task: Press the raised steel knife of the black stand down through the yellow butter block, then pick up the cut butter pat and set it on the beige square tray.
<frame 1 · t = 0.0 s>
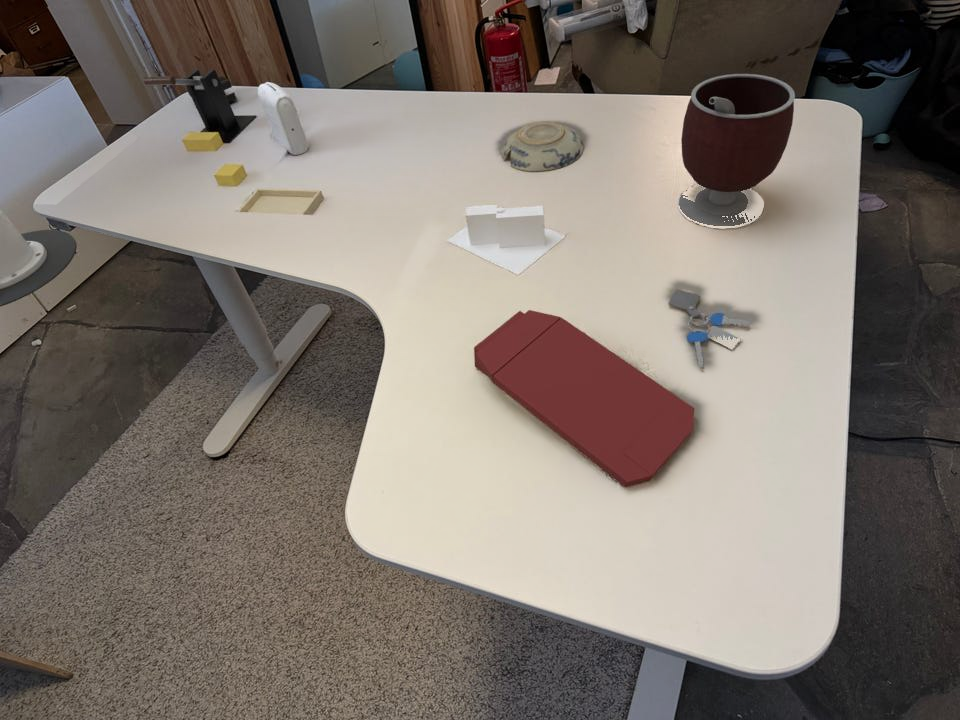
butter pat: (235, 184, 115), on the table
mate gourd: (717, 209, 92), on the table
end cap: (218, 107, 143), on the table
knife: (183, 82, 119), point 13 cm above the table, hinge at 25.0°
black stand: (225, 133, 132), on the table
butter: (207, 151, 127), on the table
key chain: (711, 326, 75), on the table
decorative bowl: (542, 151, 110), on the table
napkin holder: (505, 239, 93), on the table
beige square tray: (275, 217, 106), on the table
photo printer: (293, 146, 124), on the table
carton: (576, 399, 70), on the table
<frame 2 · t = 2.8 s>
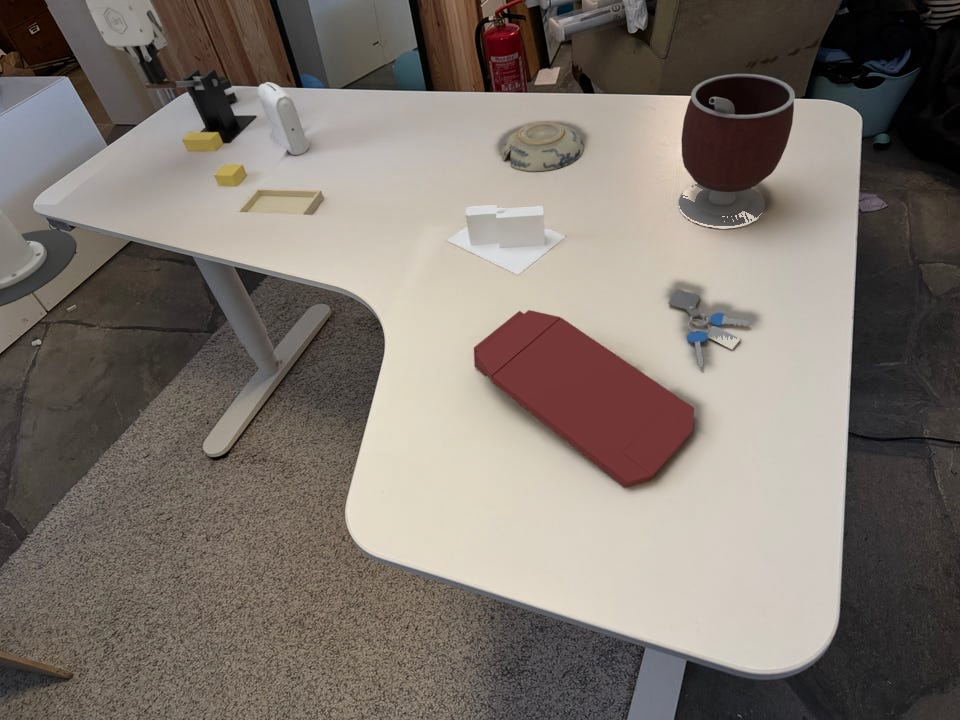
hand: (158, 80, 113), 16 cm above the table, tool pointing down, fingers closed
knife: (184, 83, 119), point 13 cm above the table, hinge at 21.5°, touching gripper
everything else where it was.
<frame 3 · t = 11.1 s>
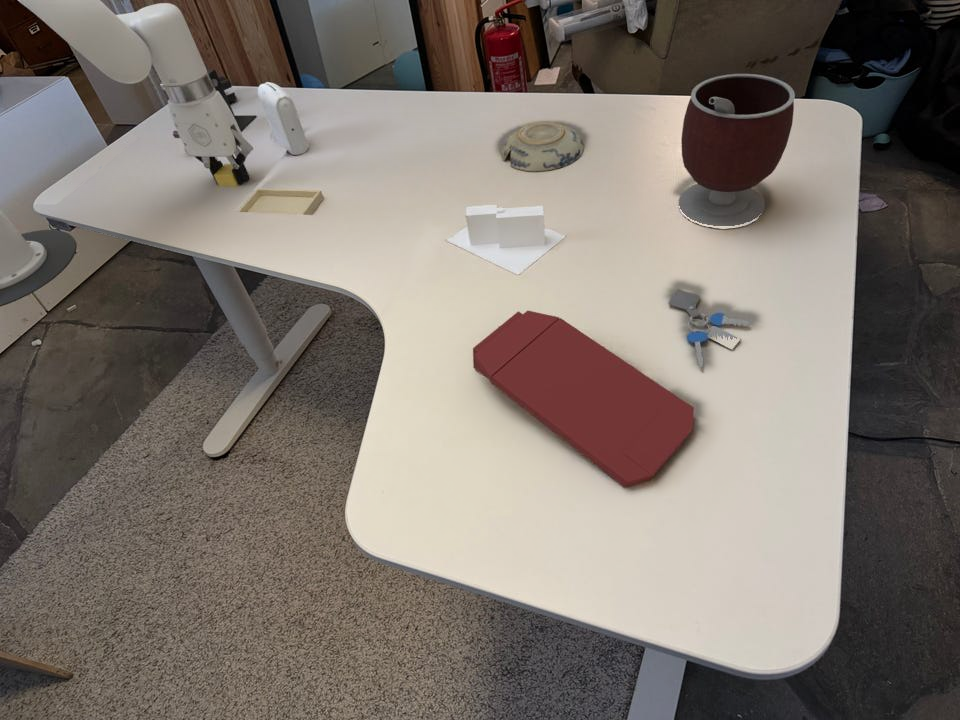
hand: (234, 183, 115), 0 cm above the table, tool pointing down, fingers closed on butter pat, 4 cm apart
butter pat: (235, 184, 115), on the table, touching gripper
knife: (196, 107, 123), point 8 cm above the table, hinge at -28.5°
everything else where it was.
when the fingers open (1 cm above the table, at t = 17.8 s): butter pat stays where it is, resting on beige square tray.
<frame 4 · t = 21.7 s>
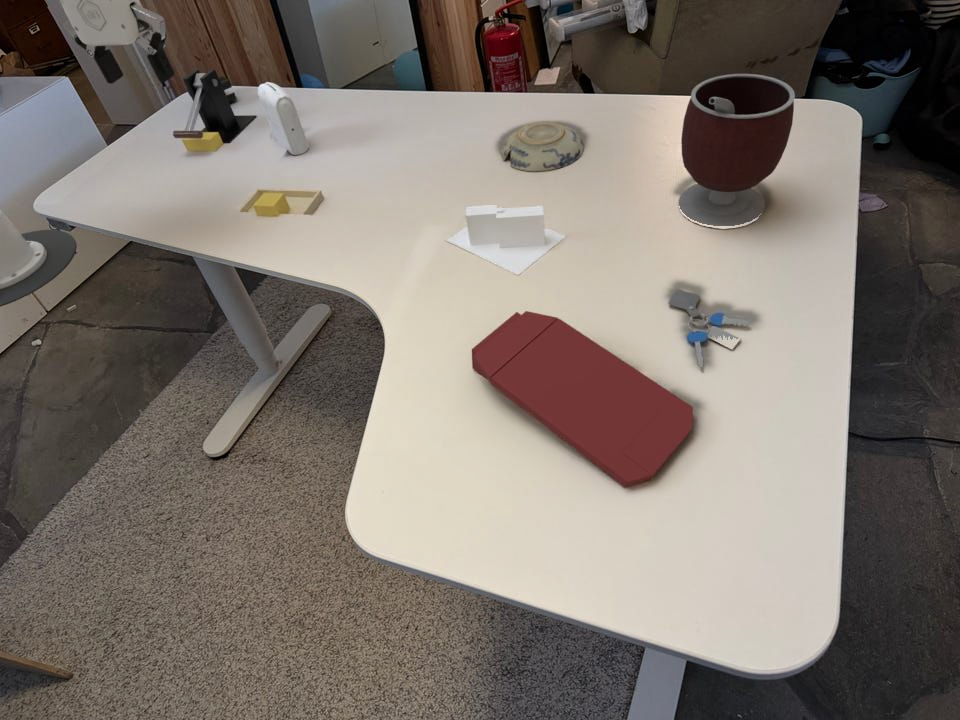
hand: (141, 79, 94), 23 cm above the table, tool pointing down, fingers open, 9 cm apart
butter pat: (275, 215, 105), resting on beige square tray
everything else where it was.
at the end: knife at -28° (first picture: +25°); butter pat inside the target area in the beige square tray (0.1 cm from its centre), point 0.4 cm above the beige square tray's base; butter pat tilted 0° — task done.
